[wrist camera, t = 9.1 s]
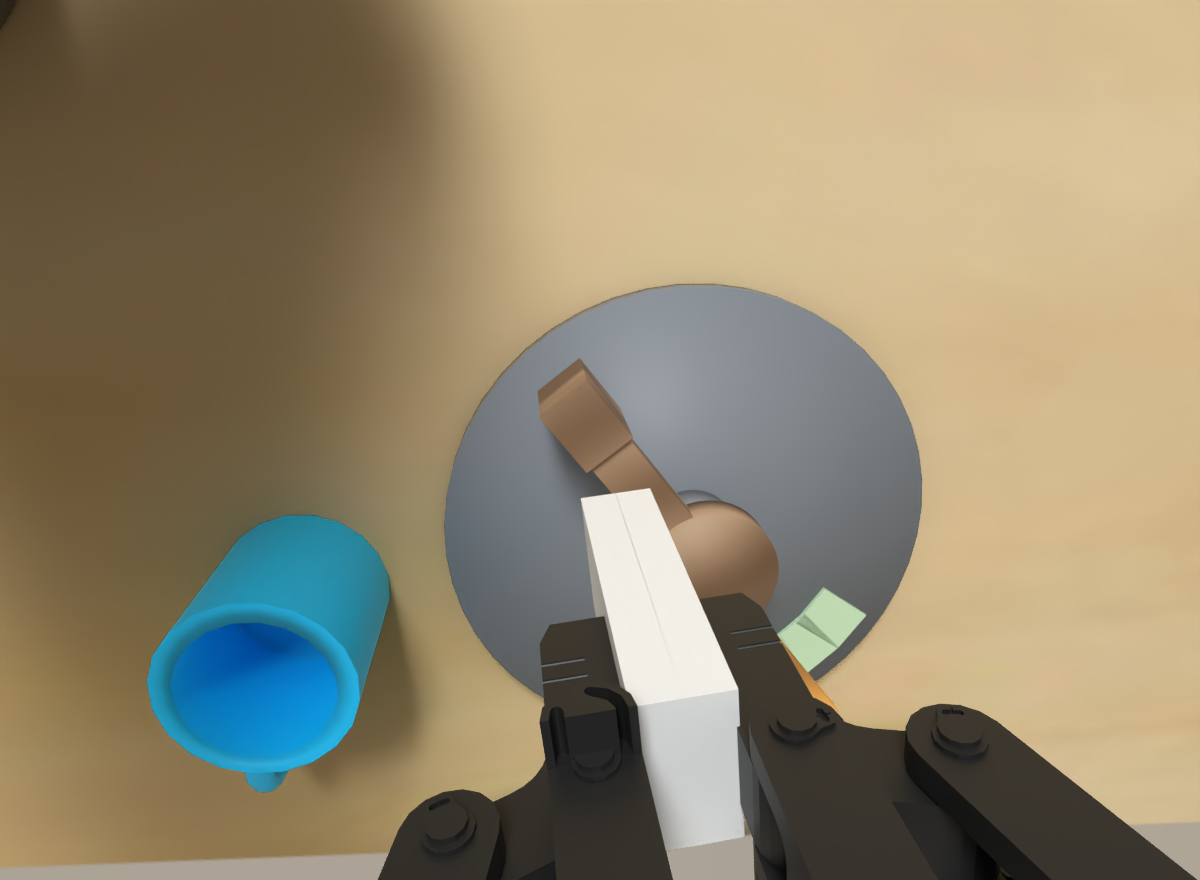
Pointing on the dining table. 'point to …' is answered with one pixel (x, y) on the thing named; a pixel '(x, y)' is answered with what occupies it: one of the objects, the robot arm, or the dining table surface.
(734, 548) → the dial arm
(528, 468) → the dial plate
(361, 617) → the mug
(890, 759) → the robot arm
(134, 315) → the dining table surface
